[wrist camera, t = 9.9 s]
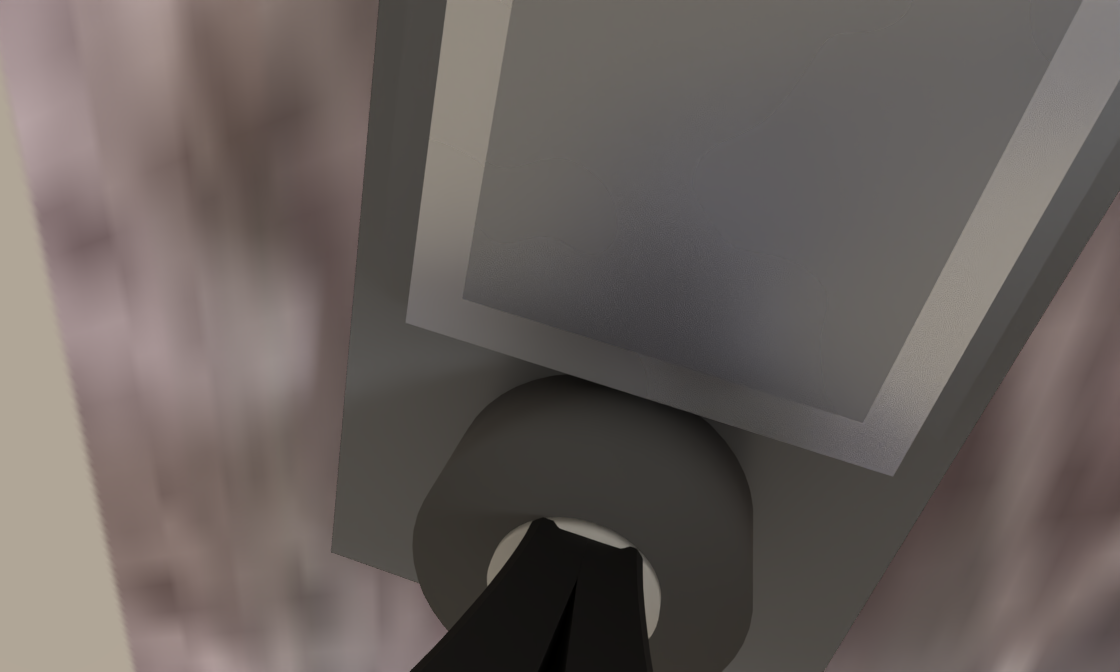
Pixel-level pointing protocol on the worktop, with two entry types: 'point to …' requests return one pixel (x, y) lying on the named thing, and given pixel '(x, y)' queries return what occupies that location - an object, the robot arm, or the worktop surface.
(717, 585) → the wheel
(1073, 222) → the chassis
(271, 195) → the worktop surface
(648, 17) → the grey rectangular block
